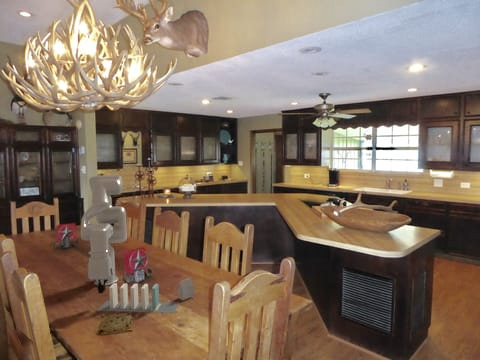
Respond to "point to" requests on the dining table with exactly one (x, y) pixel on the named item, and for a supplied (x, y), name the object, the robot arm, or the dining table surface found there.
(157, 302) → the domino
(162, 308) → the board
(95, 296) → the dining table surface
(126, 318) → the pastry
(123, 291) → the domino
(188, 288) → the grey upright block
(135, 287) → the domino
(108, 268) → the robot arm
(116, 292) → the domino
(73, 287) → the dining table surface
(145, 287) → the domino
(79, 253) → the dining table surface
